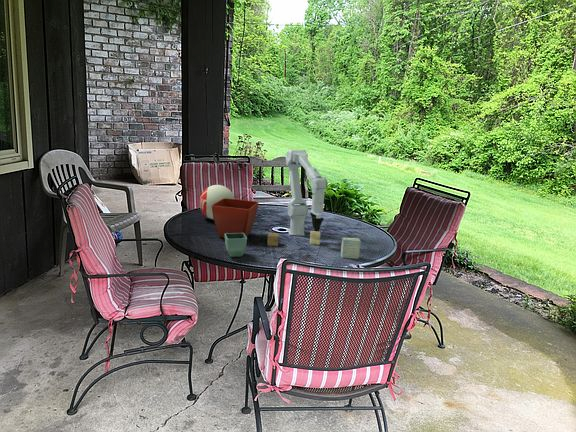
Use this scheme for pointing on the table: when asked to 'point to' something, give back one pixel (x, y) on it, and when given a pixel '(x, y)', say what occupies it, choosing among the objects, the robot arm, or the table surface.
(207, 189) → the decorative sphere
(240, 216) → the plant pot
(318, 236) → the oak block
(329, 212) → the table surface
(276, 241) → the tan wooden cube
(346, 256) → the medicine box
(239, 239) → the flower pot
